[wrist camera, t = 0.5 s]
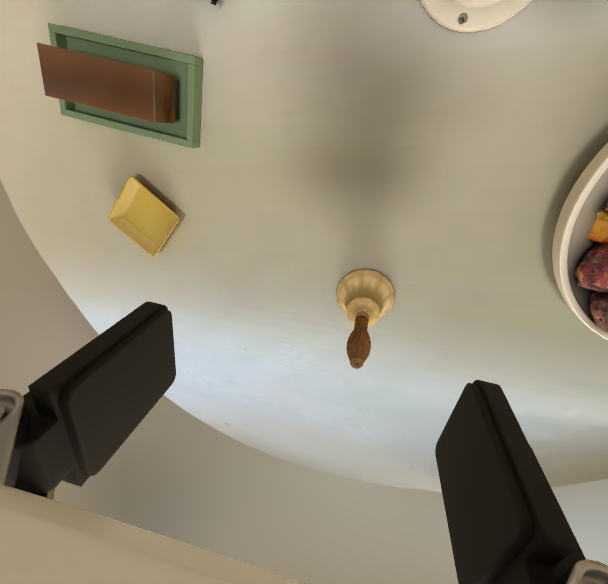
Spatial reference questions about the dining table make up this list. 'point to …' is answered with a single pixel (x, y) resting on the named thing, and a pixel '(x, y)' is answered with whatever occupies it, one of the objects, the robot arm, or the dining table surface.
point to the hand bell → (363, 308)
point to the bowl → (585, 246)
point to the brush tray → (145, 56)
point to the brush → (109, 85)
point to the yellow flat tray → (143, 216)
